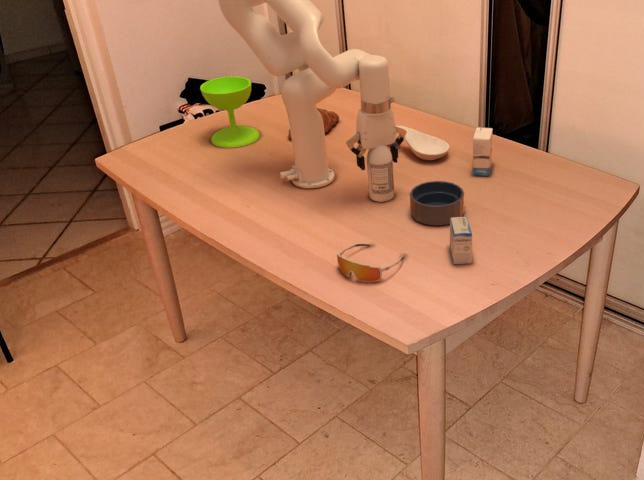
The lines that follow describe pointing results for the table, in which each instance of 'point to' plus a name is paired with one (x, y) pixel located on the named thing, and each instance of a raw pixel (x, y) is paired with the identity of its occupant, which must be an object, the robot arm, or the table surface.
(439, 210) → the bowl
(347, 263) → the sunglasses
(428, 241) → the table surface
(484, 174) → the ink box
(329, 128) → the pastry
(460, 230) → the medicine box
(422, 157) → the spoon rest
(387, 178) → the bath foam
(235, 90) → the wineglass
